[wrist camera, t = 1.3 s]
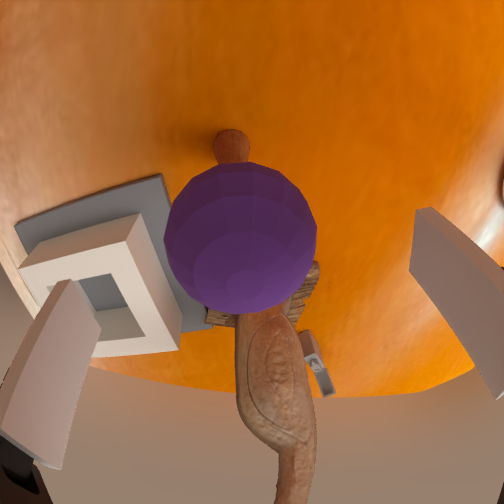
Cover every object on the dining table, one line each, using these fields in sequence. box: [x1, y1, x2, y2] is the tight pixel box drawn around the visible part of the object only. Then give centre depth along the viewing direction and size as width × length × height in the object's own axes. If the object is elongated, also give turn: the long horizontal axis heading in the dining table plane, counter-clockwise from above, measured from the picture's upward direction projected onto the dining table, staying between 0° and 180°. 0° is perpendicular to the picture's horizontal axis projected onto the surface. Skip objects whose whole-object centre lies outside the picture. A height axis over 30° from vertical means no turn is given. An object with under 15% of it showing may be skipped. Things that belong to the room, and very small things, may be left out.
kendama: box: [163, 129, 317, 314], centre depth 18 cm, size 6×6×20 cm
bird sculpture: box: [205, 261, 320, 504], centre depth 23 cm, size 11×12×32 cm
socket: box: [14, 174, 213, 358], centre depth 30 cm, size 20×20×6 cm
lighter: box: [298, 330, 336, 398], centre depth 39 cm, size 7×2×8 cm, turn 29°
